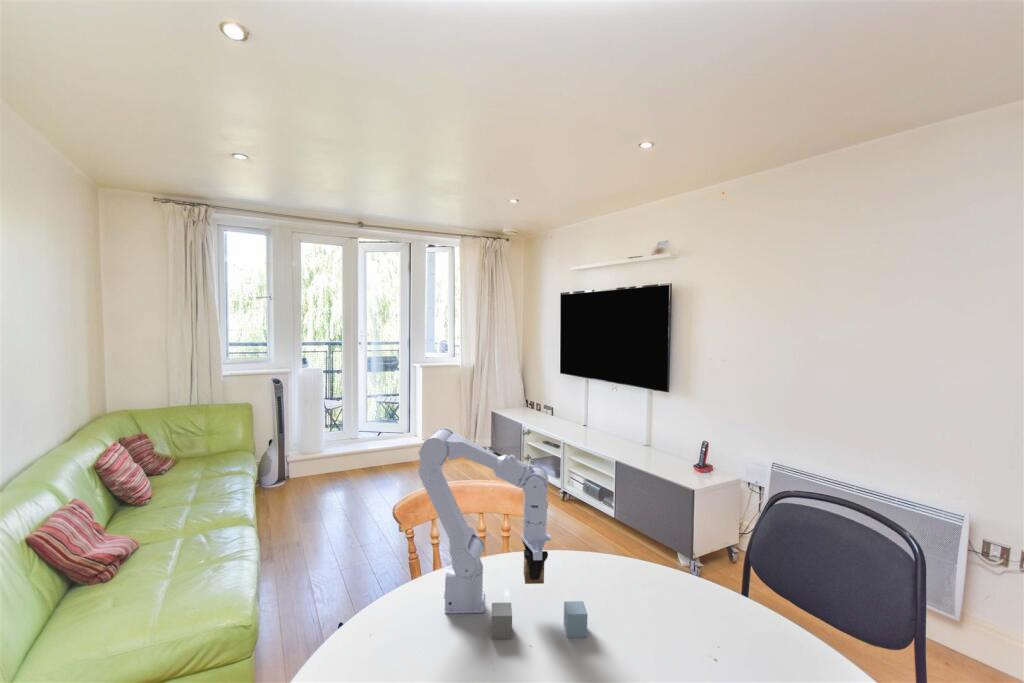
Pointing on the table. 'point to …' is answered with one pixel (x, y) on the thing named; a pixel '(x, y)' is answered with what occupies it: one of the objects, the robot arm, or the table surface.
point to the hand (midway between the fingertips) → (533, 572)
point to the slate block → (575, 619)
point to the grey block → (501, 621)
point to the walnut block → (527, 575)
